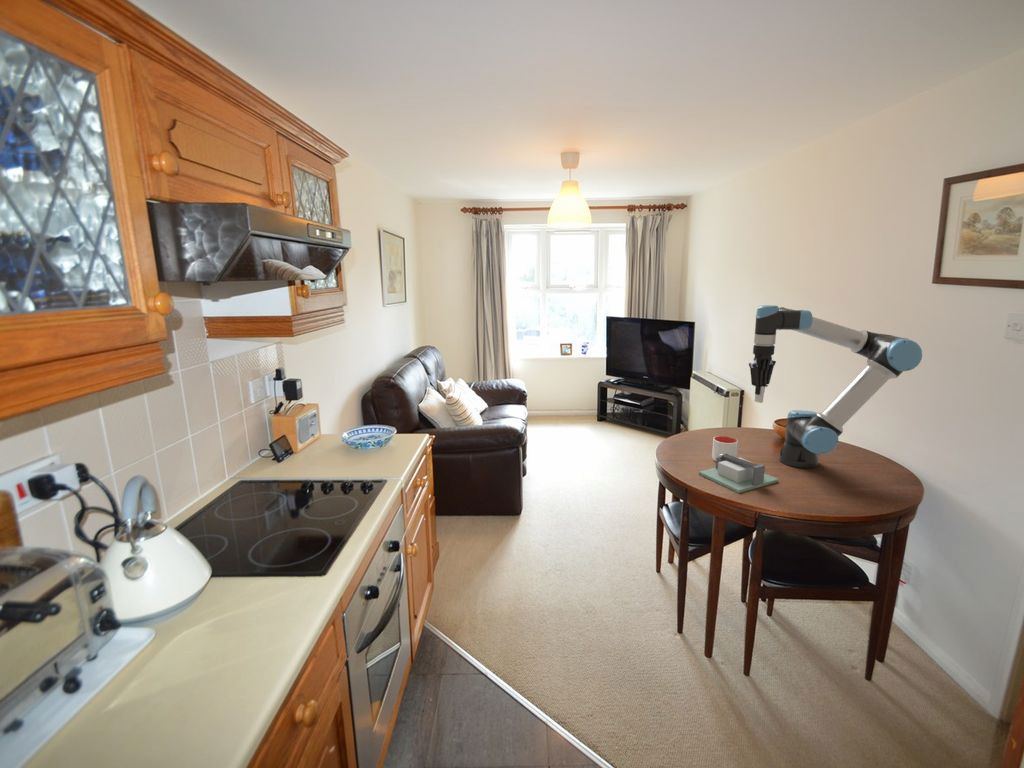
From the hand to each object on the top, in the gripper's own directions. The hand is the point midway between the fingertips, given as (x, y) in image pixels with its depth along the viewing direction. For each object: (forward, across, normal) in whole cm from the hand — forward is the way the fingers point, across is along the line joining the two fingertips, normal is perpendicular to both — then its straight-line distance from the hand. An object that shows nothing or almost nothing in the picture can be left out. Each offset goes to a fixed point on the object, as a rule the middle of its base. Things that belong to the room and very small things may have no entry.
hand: (758, 401), depth 197 cm
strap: (+24, +11, +2) cm, 26 cm away
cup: (+31, +1, -14) cm, 34 cm away
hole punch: (+30, +11, +2) cm, 32 cm away
